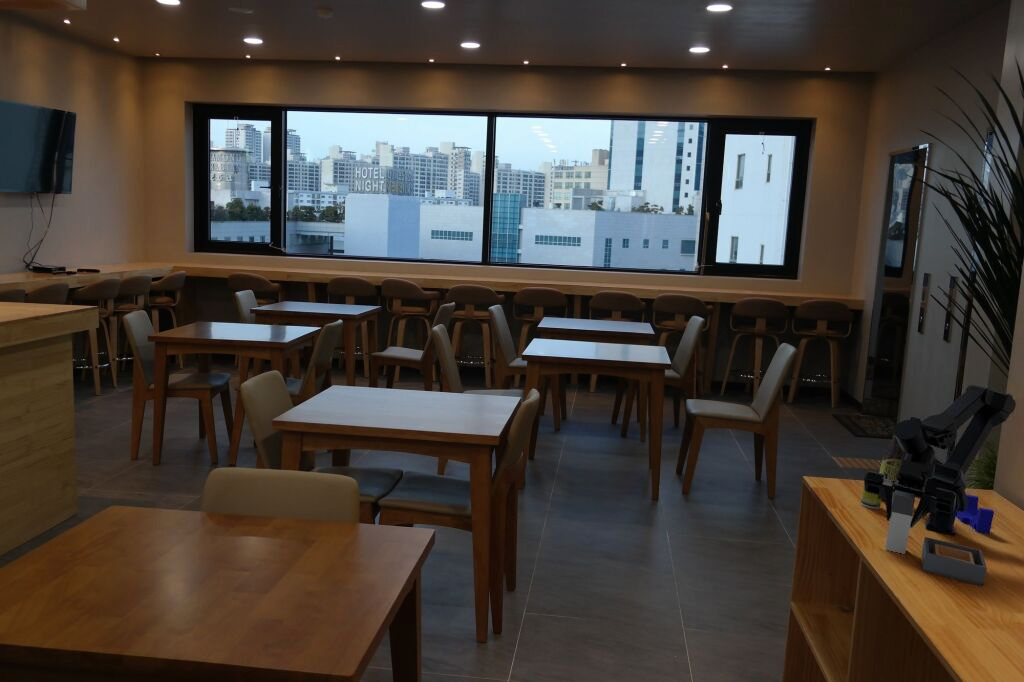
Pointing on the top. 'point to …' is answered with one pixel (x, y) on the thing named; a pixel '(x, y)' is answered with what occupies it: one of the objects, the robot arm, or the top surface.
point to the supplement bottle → (870, 500)
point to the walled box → (953, 561)
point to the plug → (900, 521)
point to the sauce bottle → (892, 460)
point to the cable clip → (976, 516)
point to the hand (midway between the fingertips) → (899, 523)
